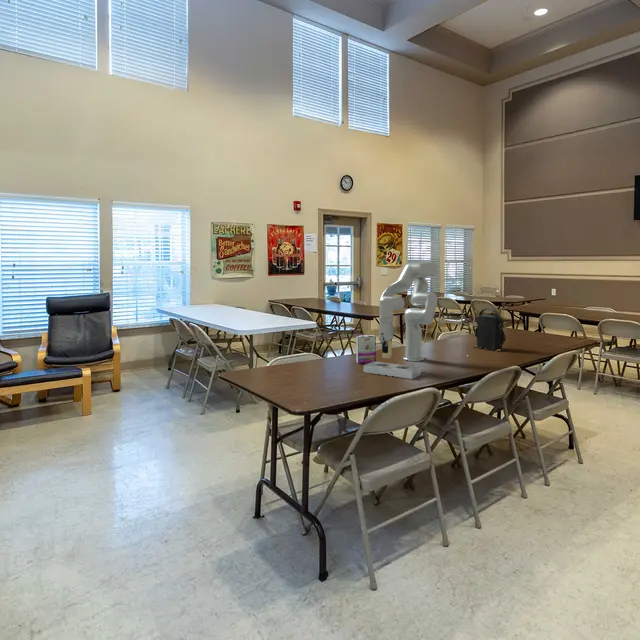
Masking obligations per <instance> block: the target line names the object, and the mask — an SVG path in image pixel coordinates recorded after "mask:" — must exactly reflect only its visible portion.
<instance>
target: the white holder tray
mask: <svg viewBox="0 0 640 640" xmlns="http://www.w3.org/2000/svg"><path fill="white" fill-rule="evenodd" d="M364 372H365V374H371V375H378V374H380V375H379V376H385V375H387V376H386V377H392V376H394V378H401V379H409V380H413V379H415V378H417V377H419V376H421V375H422V367H421V366H414V365H407V364H400V363H397V364H396V363H390V362H384V361H383V362H381V361H376V362H375V361H373V362H371V363H366V364H363V373H364ZM420 374H421V375H420Z"/></svg>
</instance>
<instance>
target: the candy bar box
mask: <svg viewBox="0 0 640 640" xmlns="http://www.w3.org/2000/svg"><path fill="white" fill-rule="evenodd" d="M355 350H356V351H355V352H356V353H355V361H356V363H357V364H358V365H362V364H363V365H366V364H368V363H371V362H373V361H375V362H377V336H376V335H375V334H362V335H355Z"/></svg>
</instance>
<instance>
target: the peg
mask: <svg viewBox="0 0 640 640" xmlns="http://www.w3.org/2000/svg"><path fill="white" fill-rule="evenodd" d="M387 346H388V353H382V352H381V359H390V358H392V352H393V351H392V344H391V340H388V341H387Z"/></svg>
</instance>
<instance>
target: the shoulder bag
mask: <svg viewBox="0 0 640 640" xmlns="http://www.w3.org/2000/svg"><path fill="white" fill-rule="evenodd" d="M486 310H488V311H492V312H493V313H494V314H488V313H487V314H483V313H484V312H485V311H486ZM475 322H476V325H477V327H475V328H474V329H475V330H474V331H475V332H474V337H475V338H476V346H477V347H481V348H486V349H491V350H490V351H492V350H497V349H503V346H504V343H505V342H506V339H507V338H506V334H505V331H504V318H503V317H502V316H501V315H500V314H499V312H498V311H497V310H495V308H494V309H493V308H483V309H481V310H480V311H479V313H478V316H477V319H476V320H475ZM486 349H485V350H486Z"/></svg>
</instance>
